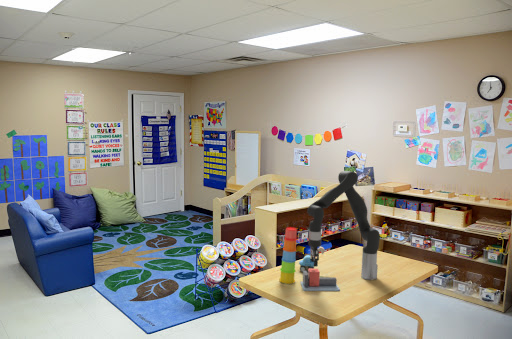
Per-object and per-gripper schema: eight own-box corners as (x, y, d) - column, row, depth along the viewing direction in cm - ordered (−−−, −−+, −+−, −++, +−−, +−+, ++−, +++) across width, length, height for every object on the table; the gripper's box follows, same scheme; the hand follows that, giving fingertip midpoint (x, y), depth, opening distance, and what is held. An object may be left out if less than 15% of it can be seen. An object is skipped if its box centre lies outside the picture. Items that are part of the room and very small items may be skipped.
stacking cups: (286, 276, 260) (288, 225, 257) (298, 281, 253) (300, 228, 250) (275, 280, 253) (277, 227, 250) (287, 285, 246) (289, 230, 242)
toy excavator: (323, 274, 267) (324, 249, 265) (298, 271, 270) (299, 247, 269) (323, 269, 275) (324, 245, 274) (299, 267, 279) (300, 243, 277)
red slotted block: (317, 282, 248) (317, 268, 247) (319, 286, 242) (319, 272, 241) (307, 282, 248) (308, 268, 247) (309, 286, 242) (309, 272, 241)
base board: (334, 283, 252) (334, 281, 251) (339, 290, 240) (339, 289, 239) (300, 283, 250) (300, 281, 250) (303, 290, 239) (303, 289, 238)
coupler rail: (334, 283, 249) (334, 270, 248) (337, 287, 242) (337, 274, 241) (302, 283, 248) (303, 270, 247) (304, 287, 241) (304, 274, 240)
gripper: (323, 241, 235) (322, 268, 236) (318, 234, 249) (317, 260, 251) (310, 241, 234) (310, 268, 236) (306, 235, 248) (306, 260, 250)
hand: (314, 263), depth 243 cm, fingers open, 8 cm apart
